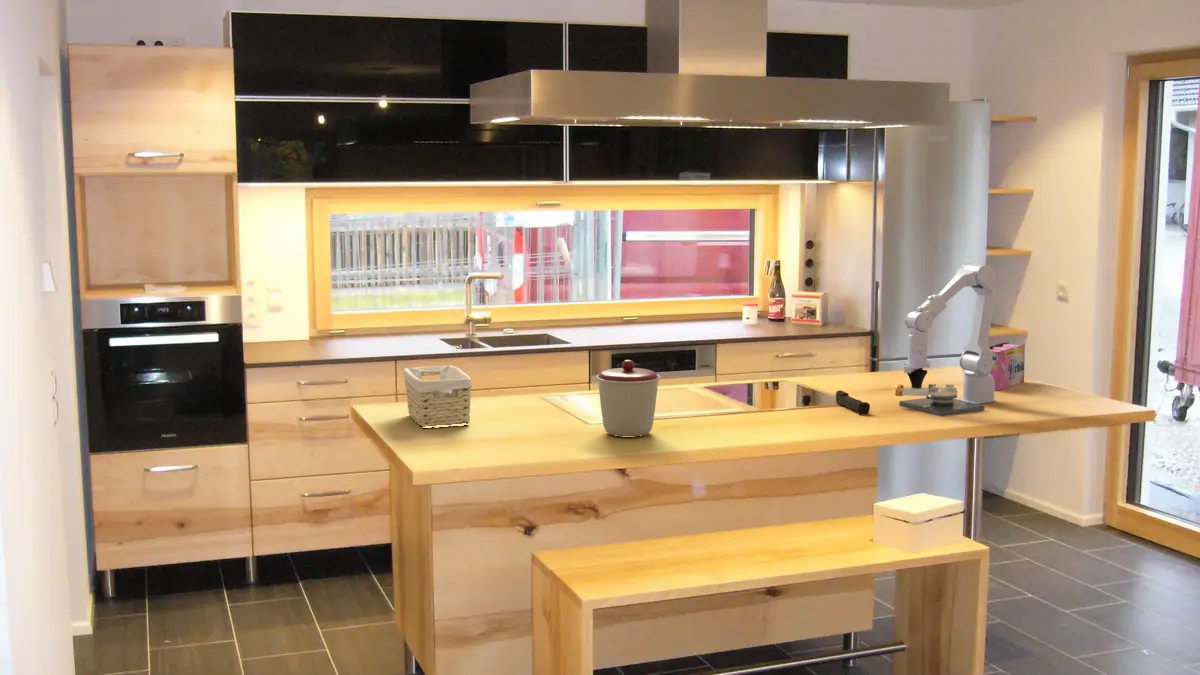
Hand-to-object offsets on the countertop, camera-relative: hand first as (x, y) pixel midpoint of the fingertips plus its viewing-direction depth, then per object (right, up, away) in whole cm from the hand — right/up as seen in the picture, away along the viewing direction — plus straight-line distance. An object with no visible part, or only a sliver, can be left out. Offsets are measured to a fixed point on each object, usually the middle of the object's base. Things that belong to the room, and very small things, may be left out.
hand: (916, 392), depth 367 cm
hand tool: (-22, -5, -3) cm, 23 cm away
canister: (-91, -10, -38) cm, 99 cm away
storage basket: (-147, -8, -20) cm, 149 cm away
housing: (+7, -5, -2) cm, 9 cm away
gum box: (+39, 0, +37) cm, 54 cm away
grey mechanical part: (+2, -2, -2) cm, 4 cm away
